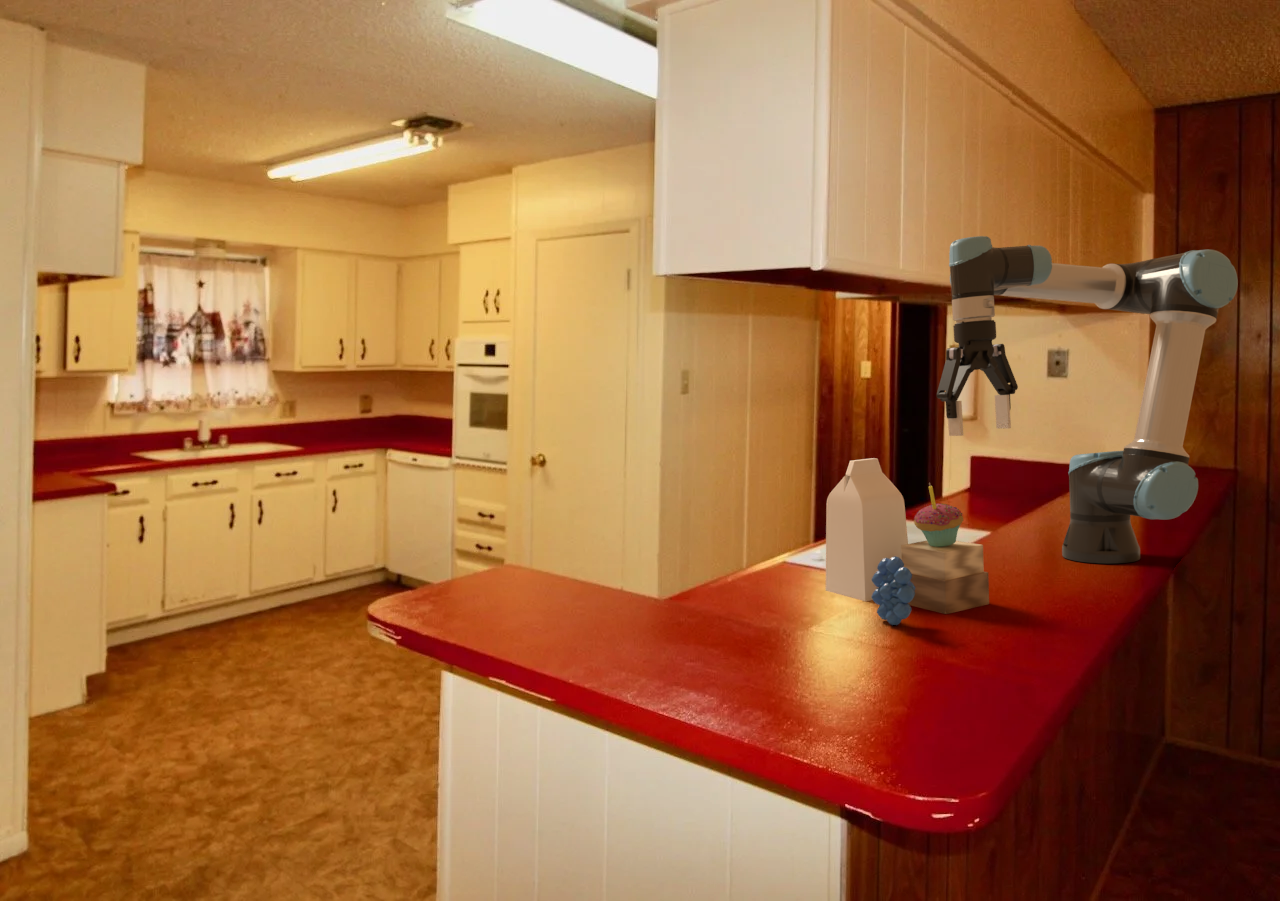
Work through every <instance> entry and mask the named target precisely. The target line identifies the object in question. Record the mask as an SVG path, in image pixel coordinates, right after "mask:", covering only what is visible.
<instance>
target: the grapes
mask: <svg viewBox="0 0 1280 901" xmlns="http://www.w3.org/2000/svg"><path fill="white" fill-rule="evenodd" d="M877 568H878V570H879V571H877V572H876V573H875V574H874V575H873V577H872V582H873V583H874V585H875V586H876V587H879V588H877V589H876V590H875V591H874V592H873V594H872V597H871V598H872V599H873V600H872V601H873V602H874V603H875V604H876V605H878V608H877V610H876V614H877V615H878V616H879V618H880V619H882V620H884V621H887V622H888V624H889V625H890V626H893V625H896V626H898V625H900V623H901V622H902V620H906V619H907V618H908V617H909V616H910V614H911V612H912V607H911V605H909V604H908V603H909V602H910V601H911V600H912V599H913V598H914V596H915V586H914V584H913V583H912V582H911V581H910V580H911V578H912V573H911V572H910V570H909V569H908V568H906V567H904V563H903V561H902V560H901V559H900V558H899V557H896V556H894V557H892V558H891V559H889V558H884V559H882V560H881V561H880V563H879V564H878V567H877Z"/></svg>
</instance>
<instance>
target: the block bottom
mask: <svg viewBox="0 0 1280 901" xmlns="http://www.w3.org/2000/svg"><path fill="white" fill-rule="evenodd" d="M989 580H990V579H989V572H988V571H984V572H983V573H978V574H974V575H969V576H965V577H960V578H956V579H951V580H946V581H944V580H939V579H934V578H929V577H924V576H919V575H914V574H912V578H911V580H910V581H911V582H912V583H913V584H914V586H915V596H914V598H913V599H912V600H911V601H910V602H909V603H908V604H909V605H910V607H911V606H912V607H916V608H920V609H923V610H928V611H932V612H936V613H940V614H944V615H947V614H948V615H949V614H952V613H957V612H960V611H961V612H962V611H965V610H969V609H973V608H977V607H983V606H986V605H989V604H990V589H989V587H990V586H989V585H990V582H989Z"/></svg>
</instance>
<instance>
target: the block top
mask: <svg viewBox="0 0 1280 901" xmlns="http://www.w3.org/2000/svg"><path fill="white" fill-rule="evenodd" d="M901 556H902V561H903V563H904V567H906V568H908V569H909V570H910V572H911V573H912V574H914V575H919V576H924V577H929V578H934V579H939V580H944V581H946V580H951V579H956V578H960V577H965V576H969V575H974V574H978V573H983V572H985V571H984V570H985V569H984V564H985V563H984V545H983V544H980V543H975V542H974V543H973V542H966V541H960V540H956V542H955V543H954V544H952V545H949V546H943V547H934V546H931V545H929V544H928V541H927V540H923V541H922V540H921V541H918V542H917V541H916V542H912V543H908V544H906V545H901Z"/></svg>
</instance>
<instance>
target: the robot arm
mask: <svg viewBox="0 0 1280 901" xmlns="http://www.w3.org/2000/svg"><path fill="white" fill-rule="evenodd" d="M948 254H949V257H948V258H949V263H948V267H949V273H950V274H949V283H950V287H951V309H952V321H954V322H955V323H954V325H953V326H952V327H953V338H954V339H953V340H954V343H957V344H958V347H950V348H946V350H945V363H944V366H943V370H942V374H941V378H940V381H939V384H938V388H937V392H936V396H935V397H936V398H937V399H938V400H940V402H945V413H946V418H947V422H948V436H949V437H952V436H953V437H963V436H964V423H963V405H962V400H959V397H960V396H961V394H962V392H963V389H964V387H965V386H966V383H967V381H968V380H969V377H970V375H971V373H973V372H974V371H975V370H976V371H979V370H980V371H982V372H983V373H984V374H985V377H987V379H988V380H989V382H990V384H991V385H992V388H994V389H995V391H996V393H997V394H995V395H994V402H995V403H994V406H995V407H994V408H995V409H994V410H995V425H996V429H1011V428H1012V424H1011V423H1012V422H1011V421H1012V420H1011V405H1012V404H1011V395H1015V394H1016V391H1017V390H1018V389H1019V388H1018V387H1019V386H1018V383H1017V380H1016V378H1015V375H1014V373H1013V370H1012V368H1011V364H1010V363H1009V360H1008V358H1007V356H1006V348H1005V347H1006V346H1005V345H1004V343H997V344H993V340H996V338H997V326H996V325H997V324H996V322H997V321H995V320H994V319H992V318H993V317H995V316H996V312H995V297H994V296H1004V297H1015V298H1016V297H1017V298H1026V299H1027V298H1028V299H1041V300H1049V301H1051V300H1052V301H1063V302H1075V303H1084V304H1085V303H1087V304H1094V305H1095V306H1097V307H1098V308H1099V309H1102V310H1110V311H1111V310H1112V311H1118V312H1119V311H1121V312H1128V313H1135V314H1143V315H1149V318H1150V319H1151V320H1152V322H1153V323H1154V324H1155V331H1154V336H1153V340H1152V346H1151V352H1150V357H1149V360H1148V361H1149V362H1148V366H1147V372H1146V377H1145V383H1144V387H1143V391H1142V397H1141V403H1140V406H1139V407H1140V408H1139V414H1138V418H1137V424H1136V428H1135V433H1134V439H1133V440H1132V441H1131V442H1129V443H1128V444H1126V445H1125V446H1124V447H1123V450H1114V451H1101V452H1091V453H1089V452H1088V453H1080V454H1079V453H1078V454H1075V455H1073V456H1072V457H1071V458H1070V459H1069V466H1068V467H1069V469H1068V472H1067V473H1068V487H1069V488H1068V490H1069V514H1070V516H1069V517H1070V518H1069V519H1070V520H1069V525H1068V528H1067V531H1066V532H1065V533H1066V534H1065V536H1064V540H1063V543H1062V548H1061V555H1062V557H1063V558H1064V559H1067V560H1069V561H1070V560H1071V561H1075V562H1080V563H1091V564H1108V565H1109V564H1110V565H1111V564H1125V563H1134V562H1138V561H1139V560H1140V559H1141V547H1140V545H1139V543H1138V540H1137V537H1136V533H1135V531H1134V528H1133V527H1132V522H1131V516H1132V517H1133V516H1135V517H1140V518H1143V519H1147V520H1164V521H1165V520H1172V519H1175V518H1178V517H1180V516H1181V515H1182V514H1183V513H1185V512H1187V511H1188V510H1189V509H1190V507H1192V505H1193V504H1194V501H1195V500H1196V497H1197V495H1198V491H1199V479H1198V477H1197V476H1196V472H1195V470H1194V469H1193V468H1192V467H1191V466H1189V461H1190V454H1188V453H1187V452H1186V450H1185V448H1184V446H1183V445H1184V441H1185V436H1186V431H1187V426H1188V422H1189V421H1188V420H1189V416H1190V412H1191V411H1190V410H1191V405H1192V399H1193V396H1194V390H1195V384H1196V380H1197V374H1198V370H1199V364H1200V360H1201V359H1200V358H1201V354H1202V348H1203V343H1204V339H1205V334H1206V330H1207V329H1208V328H1209V327H1211V326H1212V325H1214V324H1216V322H1217V318H1218V314H1219V309H1220V308H1223V307H1224V306H1225V307H1226V306H1227V305H1228V304H1229V303H1230V302H1232V300H1234V298H1235V296H1236V294H1237V291H1238V286H1239V285H1238V283H1239V281H1238V274H1237V271H1236V269H1235V266H1234V265H1233V264H1232V262H1231V260H1230V258H1228V257H1227V256H1226V255H1225V254H1223V253H1222V252H1221V251H1218V250H1215V249H1208V248H1207V249H1199V250H1196V249H1193V250H1189V251H1185V252H1182V253H1178V254H1173V255H1165V256H1162V257H1158V258H1157V257H1156V258H1150V259H1146V260H1142V261H1136V262H1132V263H1131V262H1130V263H1107V264H1105V265H1103V266H1102V267H1099V266H1088V265H1076V264H1067V263H1058V262H1057V263H1056V262H1055V263H1054V262H1052V260H1053V259H1052V255H1051V253H1050V251H1049V250H1048V249H1047V248H1046V247H1045V246H1043V245H1031V244H1027V245H1020V246H1019V245H1018V246H1006V247H994V246H993V244H992V239H991V238H990V237H989V236H986V235H985V236H984V235H979V236H978V235H977V236H968V237H964V238H959V239H956V240H954V241H952V243H950V245H949V253H948Z"/></svg>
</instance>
